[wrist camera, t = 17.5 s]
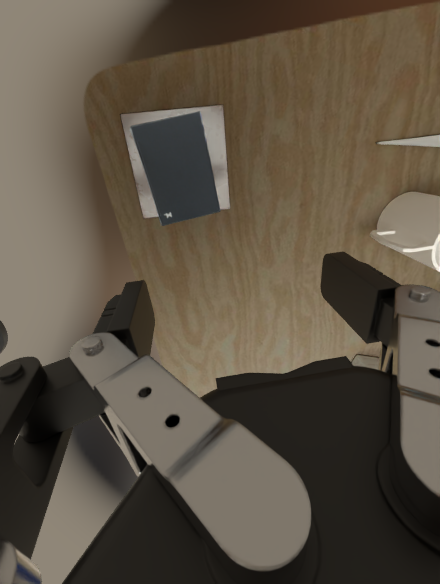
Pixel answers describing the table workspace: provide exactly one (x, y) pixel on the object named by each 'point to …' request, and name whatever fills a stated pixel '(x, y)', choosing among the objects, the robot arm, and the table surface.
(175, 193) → the box
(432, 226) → the cup
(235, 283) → the table surface
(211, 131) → the board
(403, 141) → the scissors
